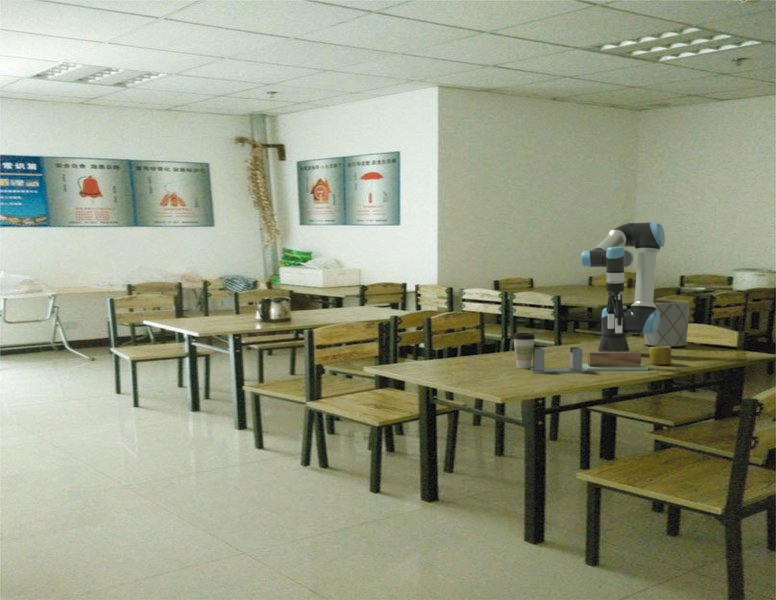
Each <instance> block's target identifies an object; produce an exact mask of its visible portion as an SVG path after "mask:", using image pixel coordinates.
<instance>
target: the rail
mask: <svg viewBox="0 0 776 600" xmlns="http://www.w3.org/2000/svg"><path fill="white" fill-rule="evenodd" d="M587 364H588V366H589V367H641V364H642V352H640V351H630V352H598V351H587Z"/></svg>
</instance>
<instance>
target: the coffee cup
mask: <svg viewBox="0 0 776 600" xmlns="http://www.w3.org/2000/svg"><path fill="white" fill-rule="evenodd" d="M512 339H513V348H514V356H515V362H516V363H515V364H516V368H517V369H523V370H524V369H530V368H532V363H533V347H535V345H534V344H535V339H536V336H535V334H534V333H532V332H515V333H514V334H513V337H512Z"/></svg>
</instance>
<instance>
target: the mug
mask: <svg viewBox="0 0 776 600" xmlns="http://www.w3.org/2000/svg"><path fill="white" fill-rule="evenodd" d="M648 354H649V359H650V364H651V365H653V366H666V365H669V366H670V365H672V346H671V347H668V346H660V347H657V346H650V347H649V348H648Z"/></svg>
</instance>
